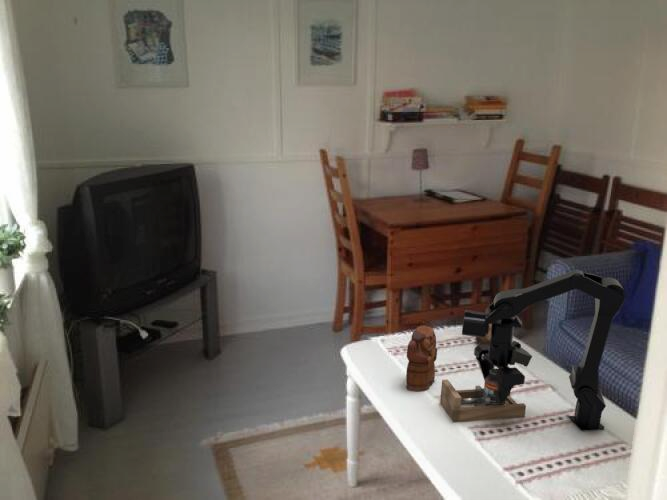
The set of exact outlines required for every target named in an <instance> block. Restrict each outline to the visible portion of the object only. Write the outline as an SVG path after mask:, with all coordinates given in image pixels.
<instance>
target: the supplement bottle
mask: <svg viewBox="0 0 667 500" xmlns="http://www.w3.org/2000/svg"><path fill="white" fill-rule="evenodd" d="M498 370H499V369H498V368H497V367H496V368H495V367H494V368H493V369H490V371H489V376H487V377H486V378H485V381H484V384H483V389H484V391H485V392H486V394H487V395H488V396H489V397H490V404H489V406H491V405H506V403H507V402H506V400H505V401H504V402H501V401H500V398H499V393H498V389H497V384H496V379H497V377H496V373H497V371H498Z"/></svg>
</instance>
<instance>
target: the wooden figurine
mask: <svg viewBox="0 0 667 500" xmlns="http://www.w3.org/2000/svg"><path fill="white" fill-rule="evenodd" d="M410 337H411V339H410V340H409V342H408V345H407V348H406V358H407V360H408V363H407V366H406V367H407V368H406V377H405V380H406V389H407V390H409V391H416V392H423V391H427V390H429V389H430V387H431V386H432V385H433V384H434V382H433V381H434V380H435V378H436V377H435V375H436V368H435V367H436V365H435V362H436V360H437V357H438V356H437V355H438V348H437V347H436V346H437V336H436V332H435V330H434V329H433V328H432V327H431V326H428V325H420V326H417V327H416V328H415V329H414V331H412V334H411V336H410Z"/></svg>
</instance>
